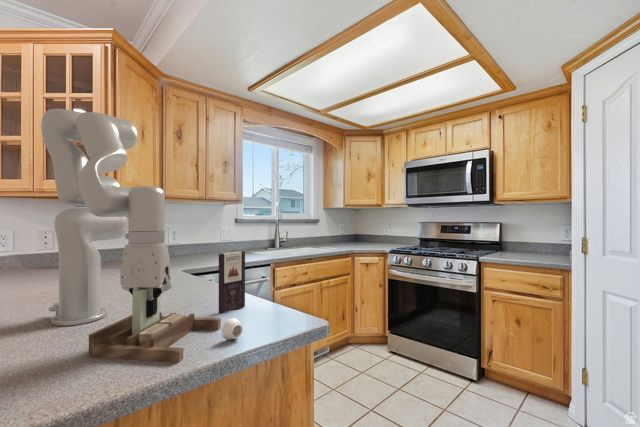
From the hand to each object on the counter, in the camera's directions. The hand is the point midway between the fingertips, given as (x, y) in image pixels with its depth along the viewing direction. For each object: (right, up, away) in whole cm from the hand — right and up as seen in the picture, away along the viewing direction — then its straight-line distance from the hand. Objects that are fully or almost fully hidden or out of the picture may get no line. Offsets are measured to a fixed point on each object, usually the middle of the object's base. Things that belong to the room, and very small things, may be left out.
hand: (146, 315), depth 73 cm
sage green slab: (0, -5, 0) cm, 5 cm away
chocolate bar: (+14, -6, +24) cm, 28 cm away
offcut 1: (+4, -6, -4) cm, 8 cm away
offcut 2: (+5, -6, +3) cm, 8 cm away
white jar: (+21, -6, 0) cm, 22 cm away
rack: (+4, -6, 0) cm, 7 cm away
